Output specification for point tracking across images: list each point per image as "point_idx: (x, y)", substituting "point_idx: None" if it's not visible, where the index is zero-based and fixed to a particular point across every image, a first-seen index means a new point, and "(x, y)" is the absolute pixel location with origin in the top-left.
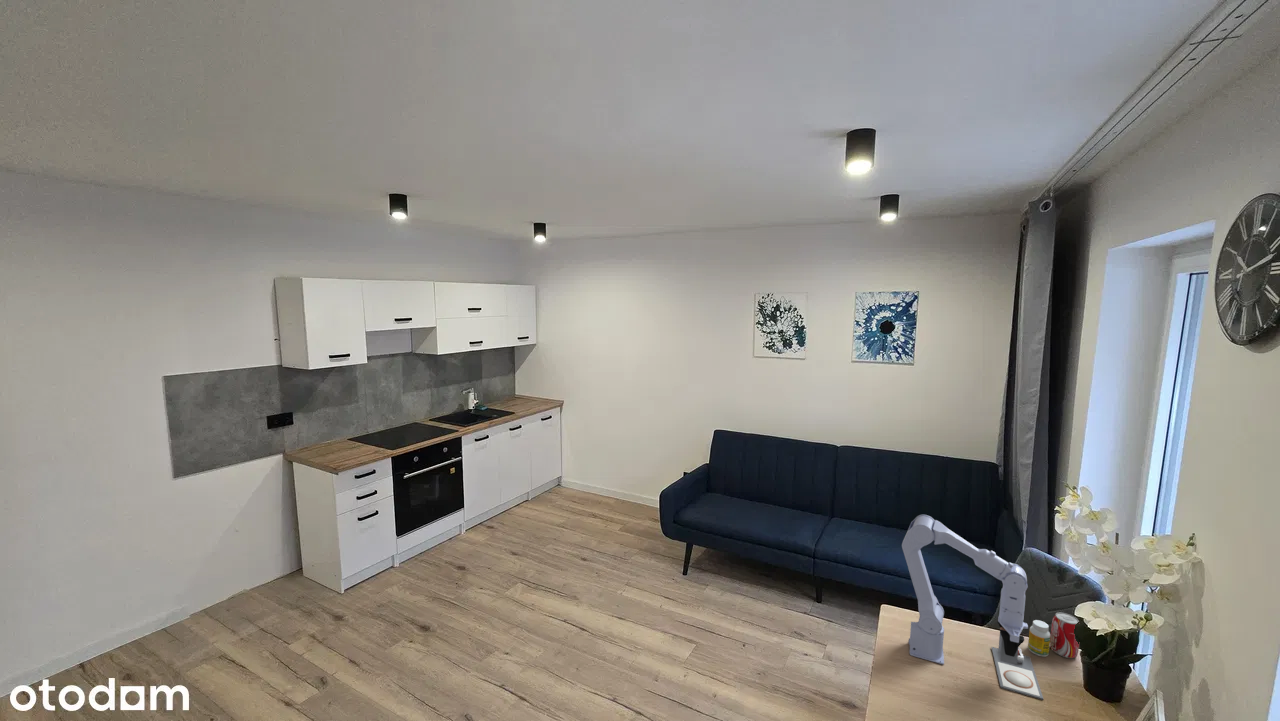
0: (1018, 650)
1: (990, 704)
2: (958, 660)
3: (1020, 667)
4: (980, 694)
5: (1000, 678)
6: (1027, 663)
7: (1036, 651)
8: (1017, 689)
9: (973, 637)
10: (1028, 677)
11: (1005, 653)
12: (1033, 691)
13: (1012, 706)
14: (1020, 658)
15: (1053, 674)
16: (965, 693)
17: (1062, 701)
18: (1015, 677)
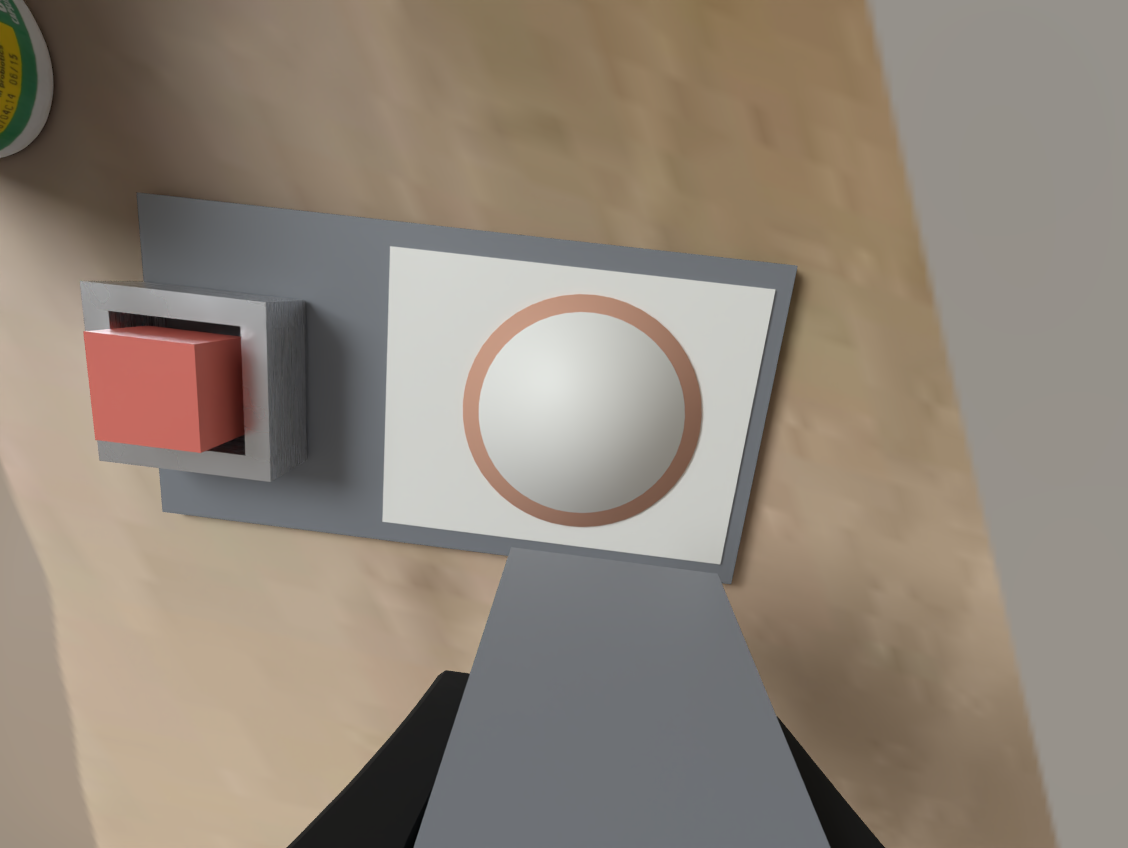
0: (187, 348)
1: (956, 694)
2: None
3: (374, 340)
4: (854, 730)
5: (621, 558)
6: (274, 252)
7: (12, 94)
8: (739, 464)
9: (89, 609)
10: (518, 314)
11: None
12: (720, 329)
13: (943, 547)
14: (276, 330)
15: (324, 22)
16: (871, 819)
17: (754, 77)
18: (567, 435)
